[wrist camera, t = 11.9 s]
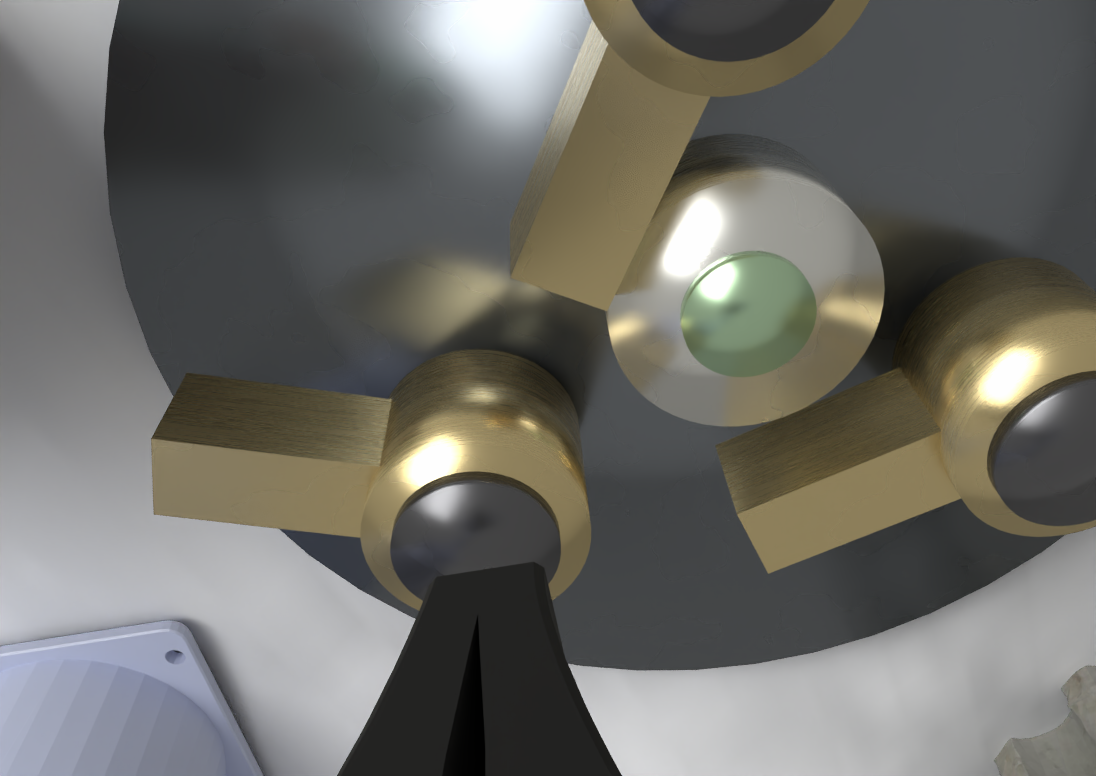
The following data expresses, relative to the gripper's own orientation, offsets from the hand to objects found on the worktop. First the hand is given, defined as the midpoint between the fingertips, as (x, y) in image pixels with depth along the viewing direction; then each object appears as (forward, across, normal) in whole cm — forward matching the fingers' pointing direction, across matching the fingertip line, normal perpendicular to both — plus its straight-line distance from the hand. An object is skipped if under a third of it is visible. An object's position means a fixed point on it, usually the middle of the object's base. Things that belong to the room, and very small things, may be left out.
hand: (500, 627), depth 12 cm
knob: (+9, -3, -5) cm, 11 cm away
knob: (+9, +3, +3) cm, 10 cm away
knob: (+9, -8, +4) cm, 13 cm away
